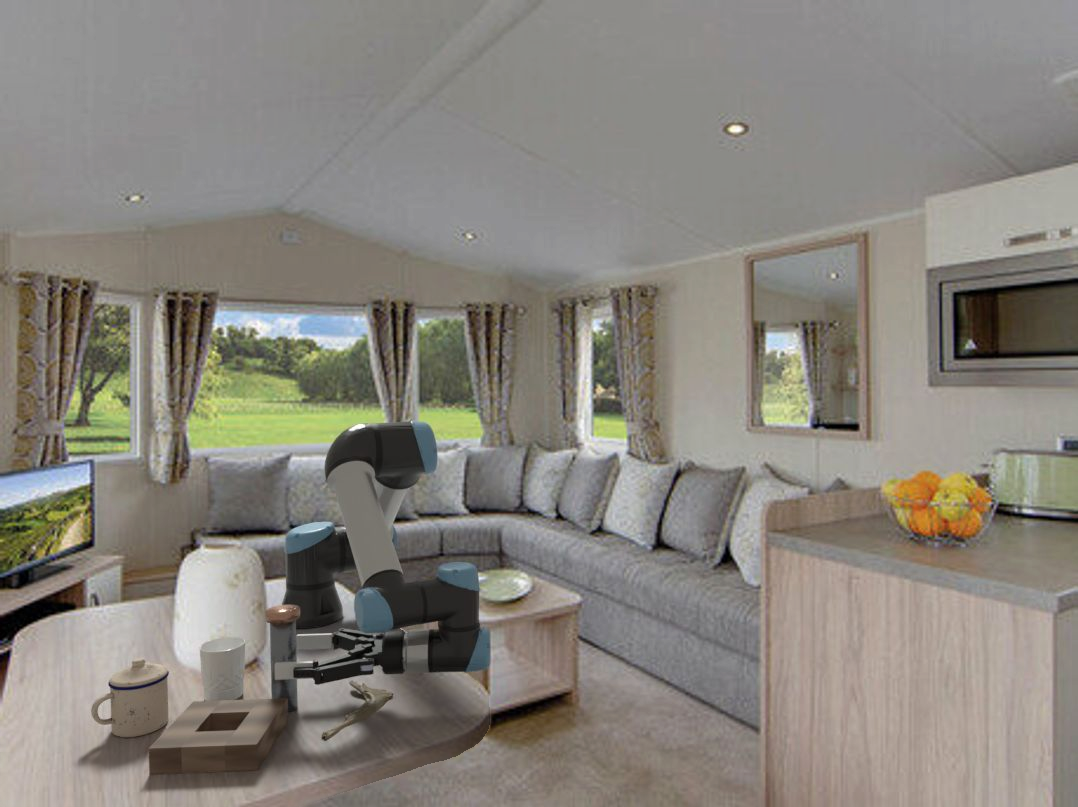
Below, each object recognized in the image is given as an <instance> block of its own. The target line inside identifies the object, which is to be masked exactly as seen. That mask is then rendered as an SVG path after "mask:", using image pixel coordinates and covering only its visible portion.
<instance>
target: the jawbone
mask: <svg viewBox="0 0 1078 807" xmlns="http://www.w3.org/2000/svg"><path fill="white" fill-rule="evenodd" d="M348 683H349V685H350V686H351V687H353V688H354V689H356V691H358V692H359V693H361V695H362V696H363V698H364V699H365V701H364V702H363V704H361V706H360V707H358V708H357V709H355V710H353V712H349V713H348V714H346V715H345V716H344V719H345V721H344V722H342V723H341V724H339V725H337V726H335V727H333V728H330V729H329V730H328V729H327V730H326V731H323V732H322V733H321V739H323V740H324V741H325V740H327V739H330V738H333V736H334V735H336V734H337V733H338V732H340V731H341V730H343V729H345V728H347V727H349V726H352V725H354V724H356V723H358V722H360V721H363V720H366V718H367V719H368V718H369V717H371V716H373V715H374V714H376V713H377V712H378V711H379V710H380V709H382V707H383V706H384V705H385V704H386V703H387V702H388V701H389V700H391V699H392V698H393V697H392V695H393V696H394V693H393V692H392V691H390V690H386V689H379V688H371V687H369V686H367V685H366V684H365V683H364V682H362V684H359V683H357V681H353V680H350V681H349V682H348ZM390 698H391V699H390ZM388 699H389V700H388ZM387 700H388V701H387ZM386 701H387V702H386ZM385 702H386V703H385Z"/></svg>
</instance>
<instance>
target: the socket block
mask: <svg viewBox="0 0 1078 807" xmlns="http://www.w3.org/2000/svg"><path fill="white" fill-rule="evenodd" d="M288 722H289V713H288V698H277V699H272V698H255V699H252V698H251V699H249V698H248V699H236V700H220V701H205V700H202V701H201V700H198V701H197V700H196V701H195V700H194V701H192V702H191V703H190V704H189V705H188V706H187V707H186V709H185V710H183V712H182V713H181V714H180V715H179V716H178V717H177V718H176V719H175V720H174V721H173V722H172V723H171V724H170V725H169V726H168V727H167V729H165V731H163V733H161V735H160V736H159V737H158V738H157V739H156V740H155V741H154V742H153V743H152V744H151V745H150V746H149V747H148V770H149V772H148V773H149V774H148V775H169V774H172V775H173V774H175V775H176V774H197V773H220V772H222V773H223V772H246V771H258V770H259V768H260V767H261V765H262V763H263V762H264V760H265V759H266V757H267V755H268V754H269V752H270V751H271V750H272V748H273V746H274V744H275V743H276V741H277V740H278V738H279V736H280V734H281V733H282V731H283V730H284V729H285V727H286V726H287V724H288Z"/></svg>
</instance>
